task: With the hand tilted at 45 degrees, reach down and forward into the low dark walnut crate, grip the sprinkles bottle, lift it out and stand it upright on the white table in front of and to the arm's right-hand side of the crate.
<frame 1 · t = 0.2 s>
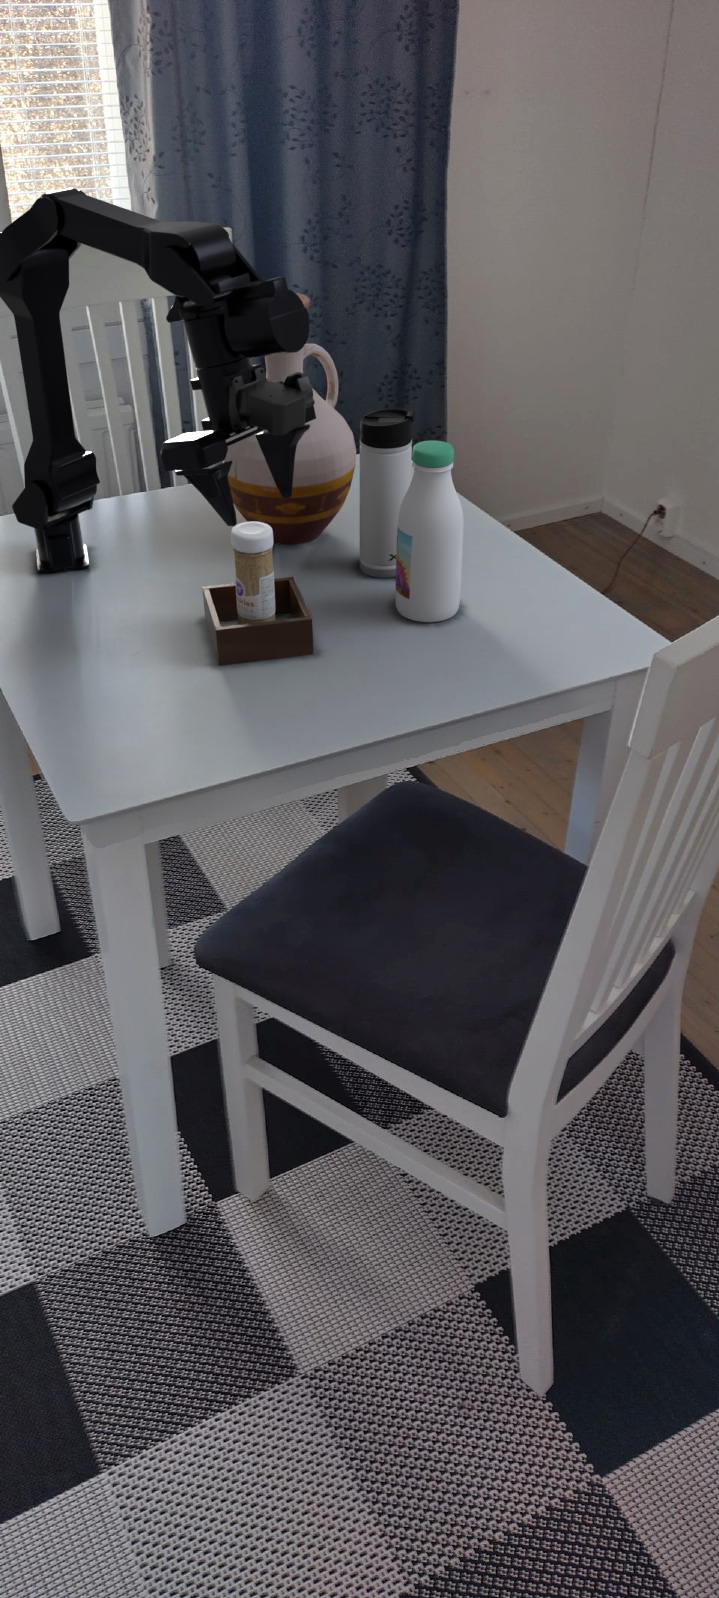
hand: (260, 511, 127), 15 cm above the table, tool pointing down, fingers open, 9 cm apart
crate: (258, 637, 136), on the table
jug: (294, 531, 160), on the table
travel mug: (385, 569, 151), on the table
sprinkles bottle: (258, 638, 136), resting in crate
milk bottle: (427, 610, 142), on the table
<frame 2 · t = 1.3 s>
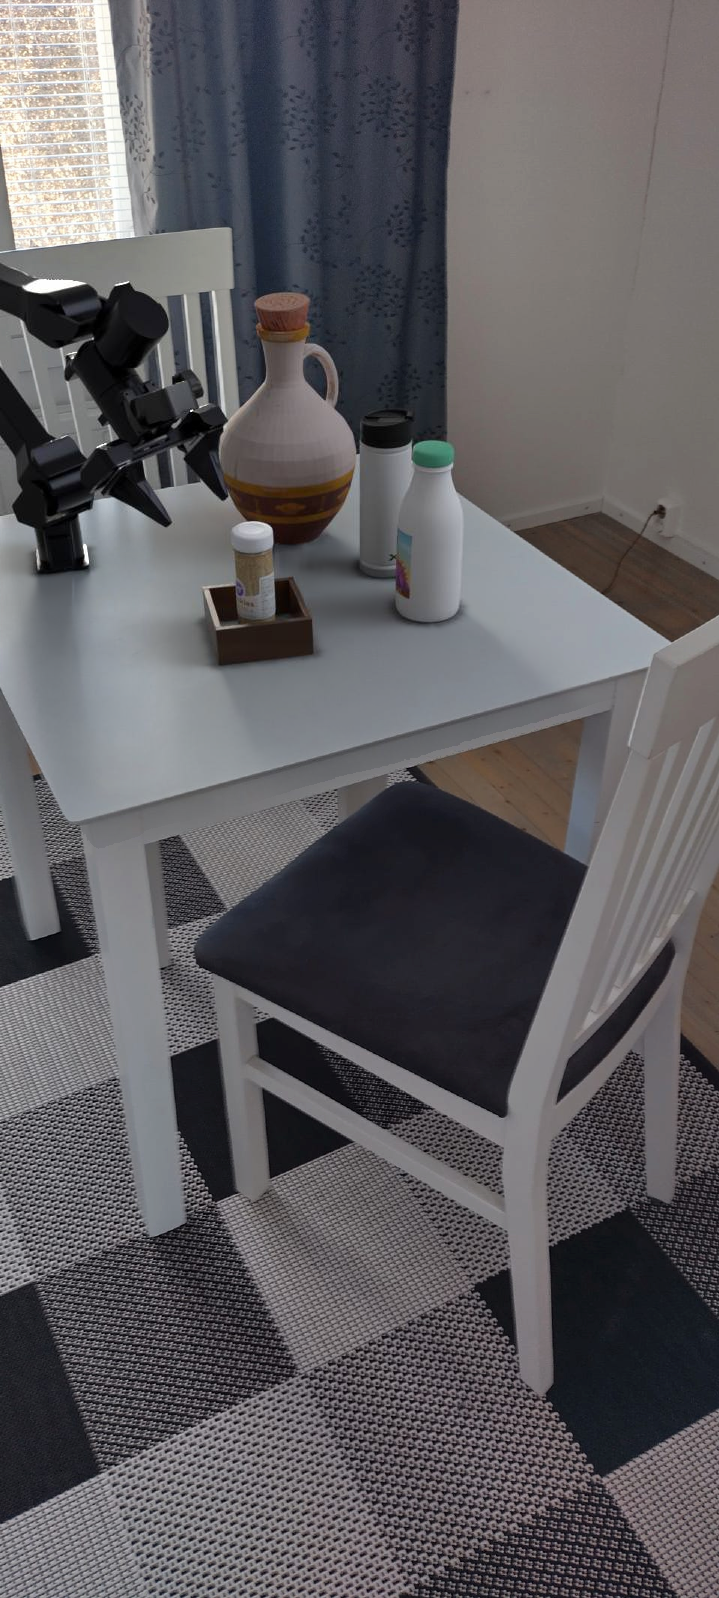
hand: (198, 511, 132), 13 cm above the table, tool tilted 45°, fingers open, 9 cm apart
nothing on the table moved.
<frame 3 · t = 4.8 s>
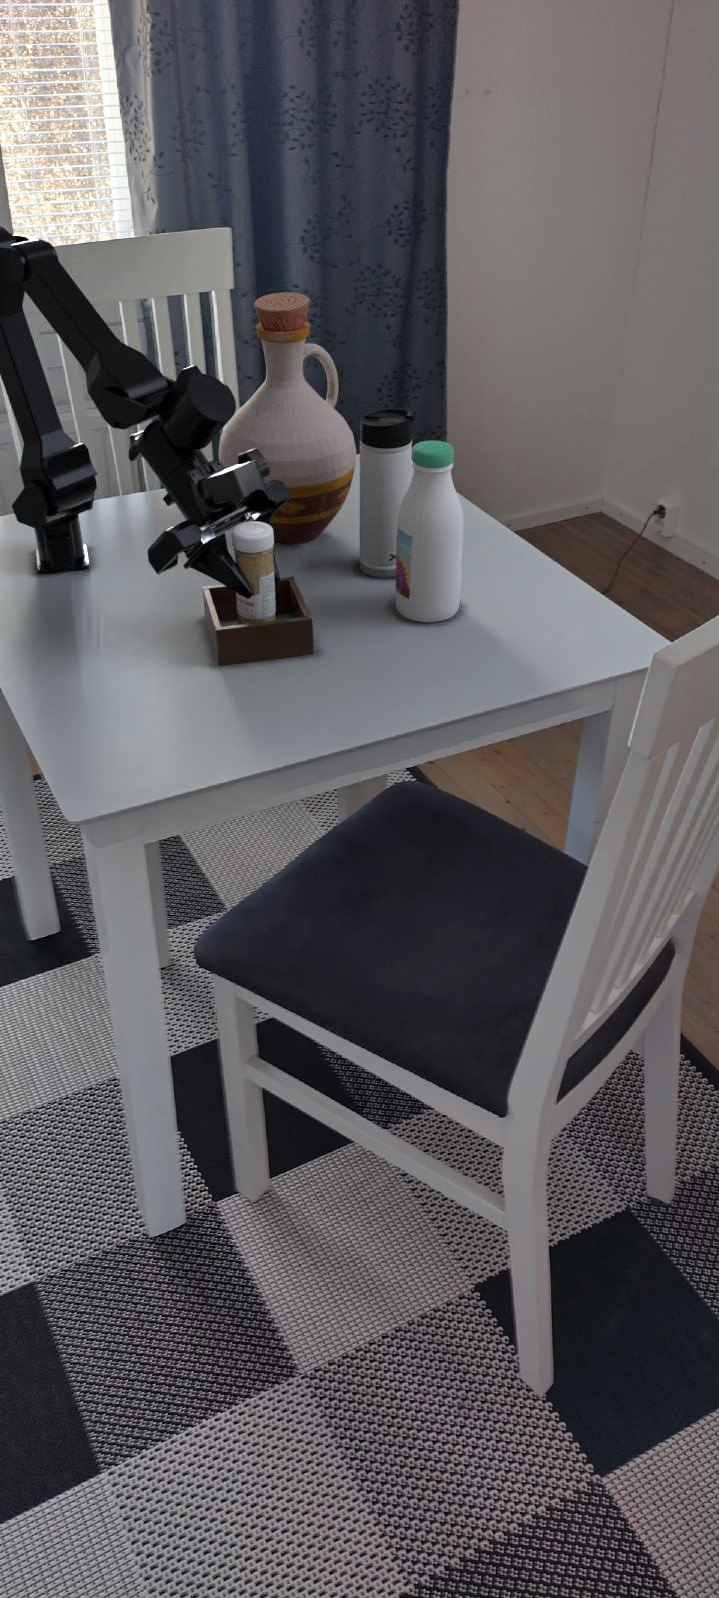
hand: (264, 589, 132), 7 cm above the table, tool tilted 45°, fingers closed on sprinkles bottle, 4 cm apart
sprinkles bottle: (258, 638, 136), resting in crate, touching gripper
everything else where it was.
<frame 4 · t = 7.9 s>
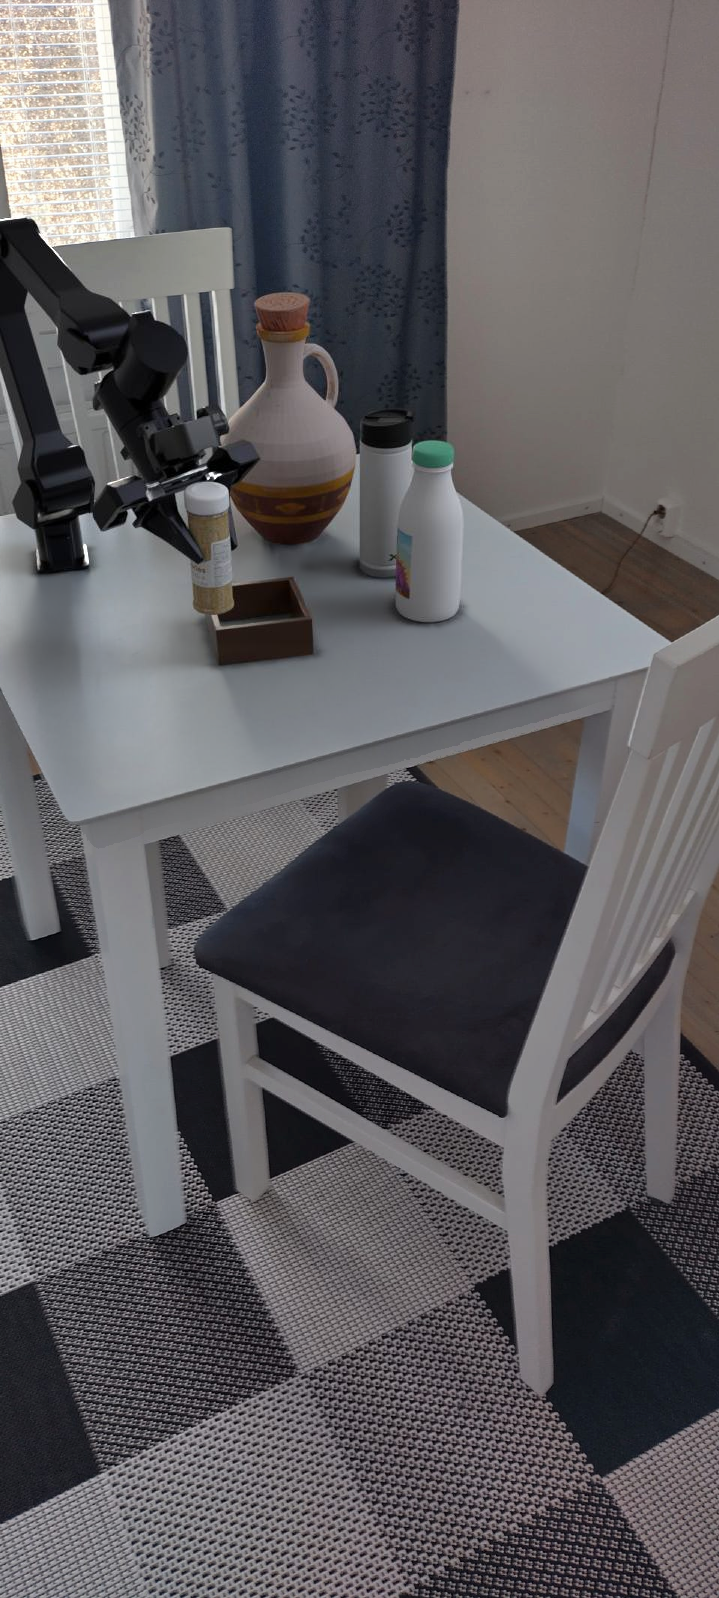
hand: (217, 555, 123), 13 cm above the table, tool tilted 45°, fingers closed on sprinkles bottle, 4 cm apart
sprinkles bottle: (214, 608, 128), point 7 cm above the table, touching gripper
everything else where it was.
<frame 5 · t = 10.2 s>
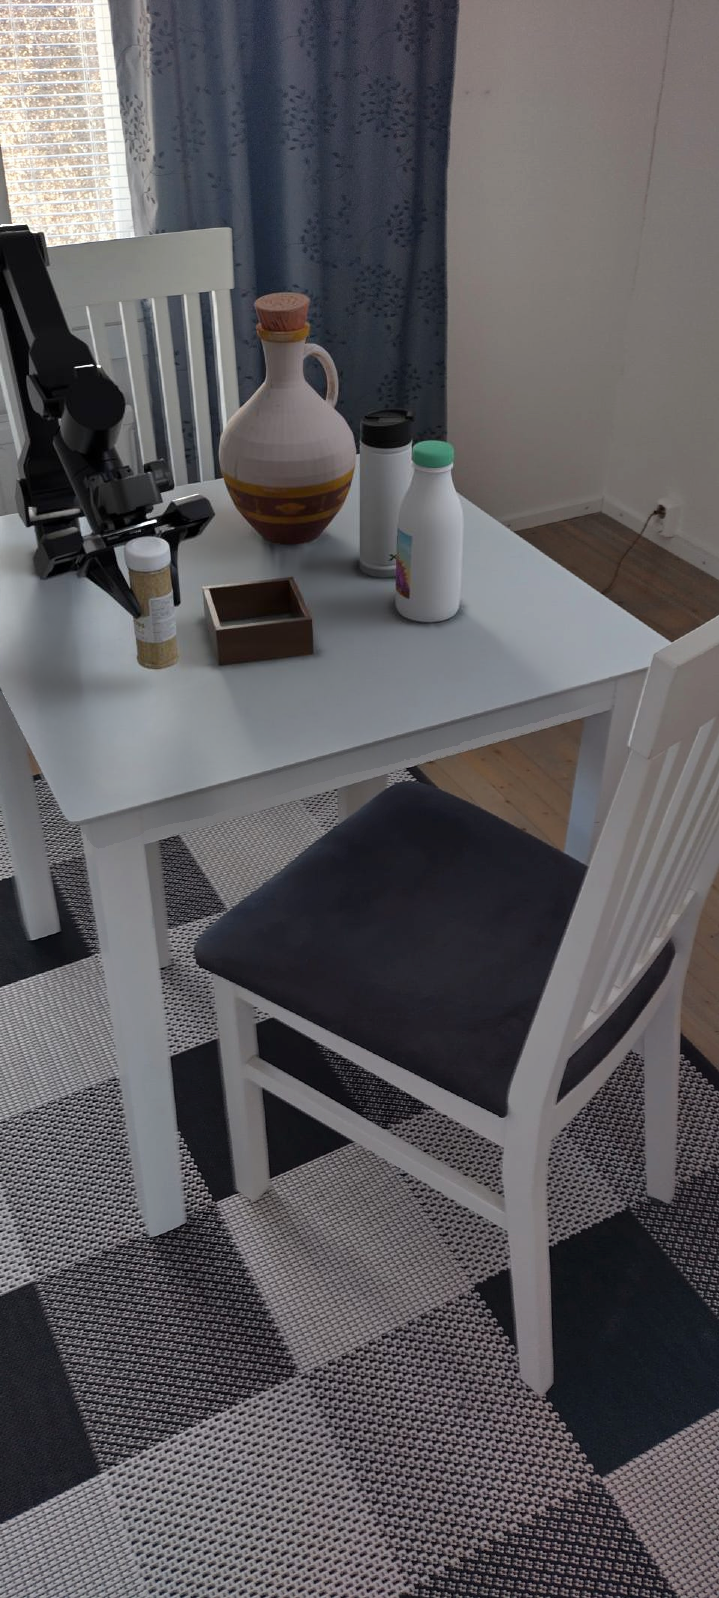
hand: (158, 611, 121), 9 cm above the table, tool tilted 45°, fingers closed on sprinkles bottle, 4 cm apart
sprinkles bottle: (159, 662, 126), point 3 cm above the table, touching gripper
everything else where it was.
when the fingers open (7 cm above the table, at t = 11.5 s): sprinkles bottle stays where it is, on the table.
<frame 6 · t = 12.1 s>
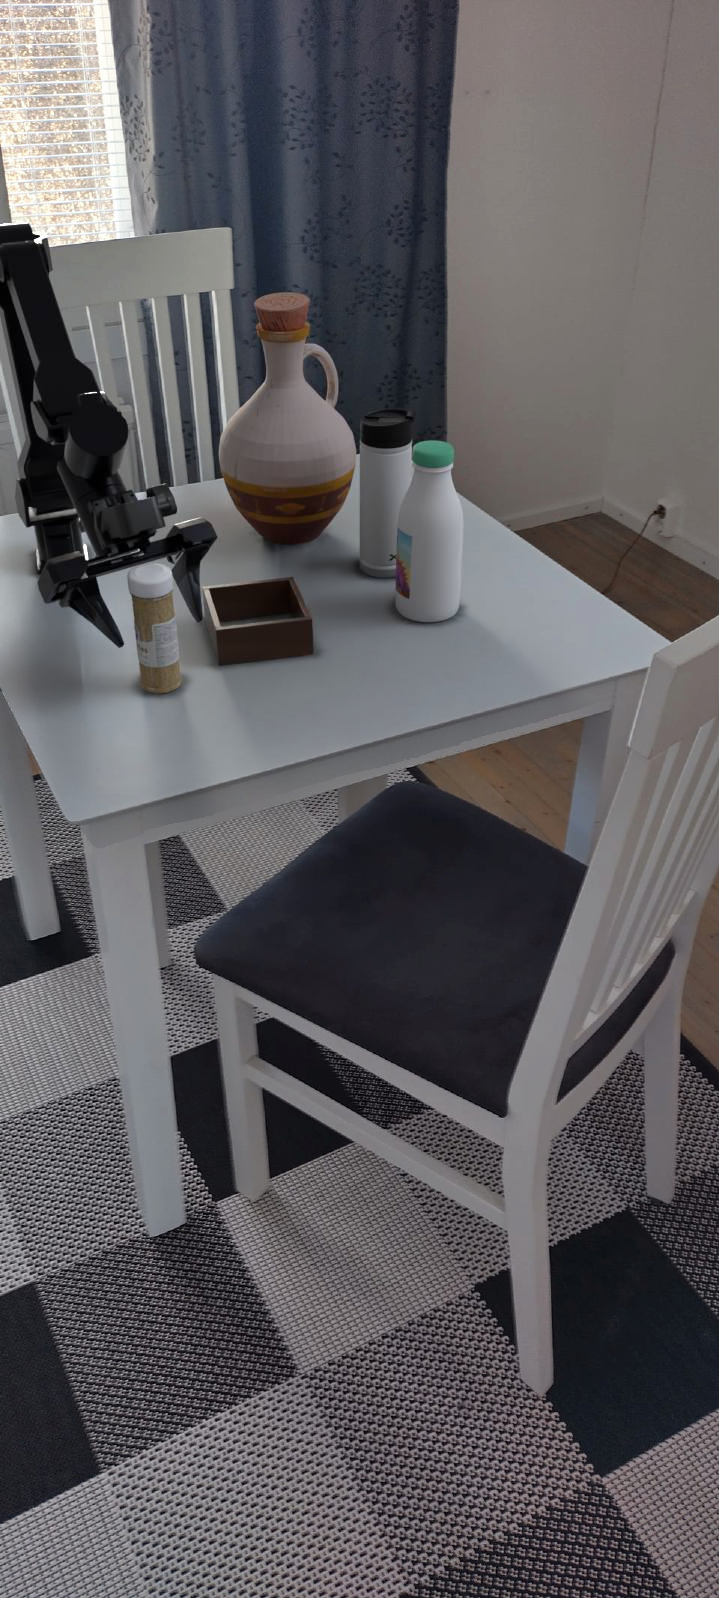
hand: (161, 633, 123), 7 cm above the table, tool tilted 45°, fingers open, 9 cm apart
sprinkles bottle: (161, 685, 128), on the table
everything else where it was.
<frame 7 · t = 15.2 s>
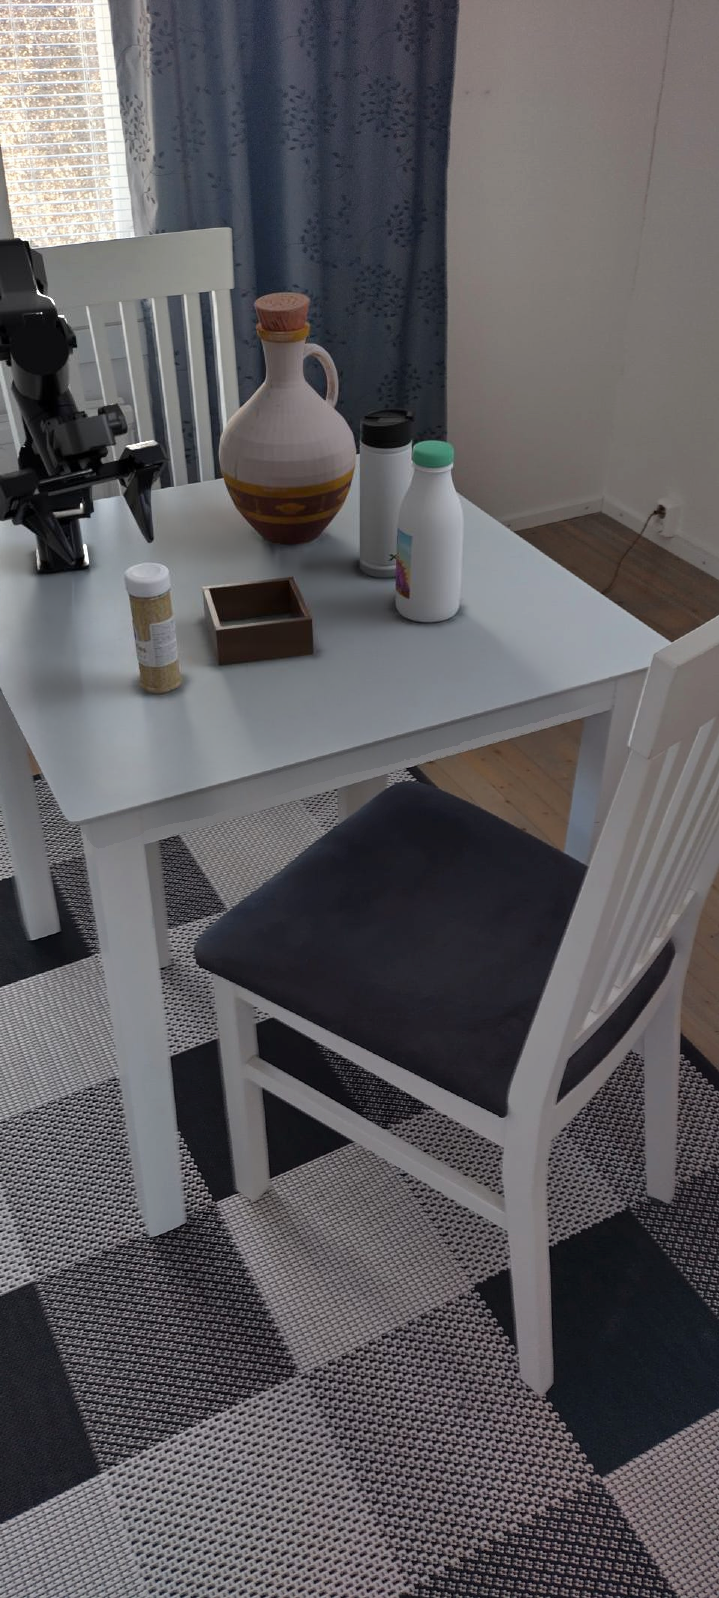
hand: (113, 551, 125), 13 cm above the table, tool tilted 45°, fingers open, 9 cm apart
nothing on the table moved.
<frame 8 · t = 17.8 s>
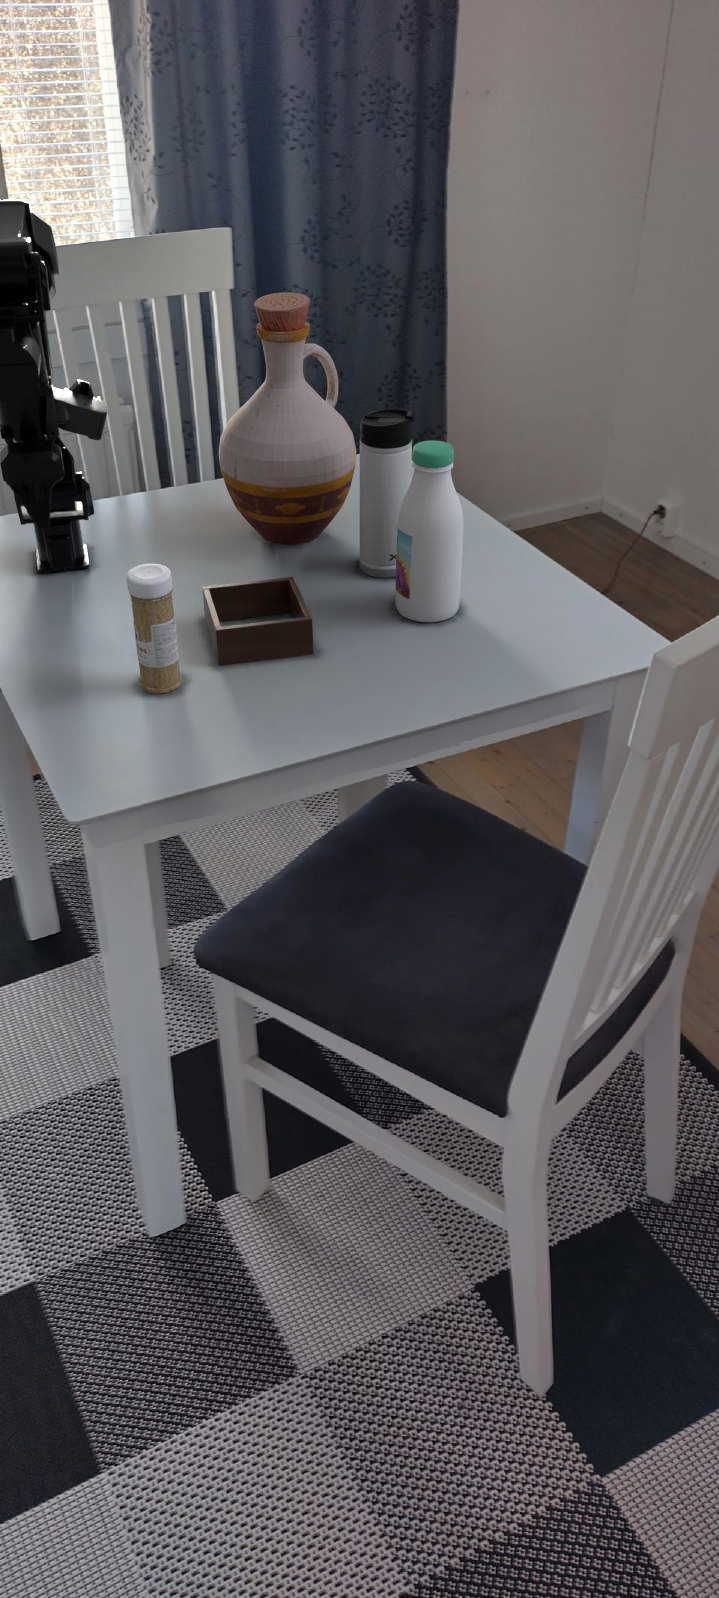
hand: (42, 512, 133), 13 cm above the table, tool pointing down, fingers open, 9 cm apart
nothing on the table moved.
at the end: sprinkles bottle inside the target area (0.2 cm from its centre), on the table; sprinkles bottle tilted 1°; the gripper is holding nothing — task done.
